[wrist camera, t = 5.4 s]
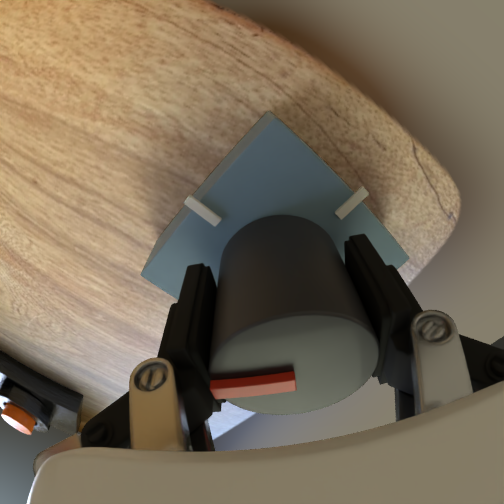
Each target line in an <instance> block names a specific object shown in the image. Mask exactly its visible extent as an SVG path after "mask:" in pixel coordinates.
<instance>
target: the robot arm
mask: <svg viewBox="0 0 504 504" xmlns="http://www.w3.org/2000/svg"><path fill="white" fill-rule="evenodd" d="M344 253H345V266H346V268H347V270H348V272H349V274H350V277H351V279H352V281H353V283H354V285H355V287H356V290H357V292H358V294H359V296H360V298H361V301H362V303H363V305H364V307H365V310H366V312H367V314H368V316H369V319H370V321H371V323H372V326H373V328H374V330H375V333H376V335H377V338H378V341H379V344H380V357H379V361H378V365H377V367H376V369H375V371H374V372H373V374H372V377H378V380H379V383H380V384H384V383H388V385H390V386H392V387H394V388H395V410H396V422H394V423H391V424H387V425H384V426H380V427H377V428H373V429H369V430H365V431H361V432H357V433H353V434H348V435H344V436H339V437H335V438H330V439H325V440H319V441H313V442H308V443H301V444H296V445H288V446H280V447H272V448H262V449H250V450H237V451H215V448H214V444H213V440H212V436H211V432H210V427H209V423H208V420H207V419H208V418H209V417H210V416H211V415H212V413H213V412H219V411H221V403H225V402H226V400H225V399H215V398H214V396H213V394H212V392H211V390H210V378H209V373H208V365H209V355H210V346H211V336H212V327H213V318H214V309H215V300H216V292H217V285H216V282H215V280H214V277H213V274H212V271H211V268H210V266H205V265H204V263H199V264H194V265H189V266H187V269H186V273H185V276H184V280H183V284H182V287H181V291H180V295H179V299H178V303H174V304H172V305H171V307H170V311H169V314H168V318H167V322H166V325H165V329H164V333H163V337H162V341H161V344H160V348H159V352H158V356H157V357H156V358H150V359H147V360H145V361H143V362H141V363H140V364H139V365H137V367H136V368H135V369H134V370H133V372H132V373H131V375H130V380H129V391H128V392H127V393H126V394H124V395H123V396H122V397H120V398H119V399H118V400H116V401H115V402H114V403H112V404H111V405H110V406H108V407H107V408H105V409H104V410H103V411H101V412H100V413H99V414H97V415H96V416H95V417H93V418H92V419H90V420H89V421H88V422H87V423H86V424H85V426H84V428H83V429H82V433H81V435H78V434H77V433H76V434H74V435H72V436H70V437H69V438H67V439H65V440H63V441H61V442H59V443H57V444H55V445H54V446H51V447H49V448H48V449H46V450H44V451H42V452H40V453H39V454H38V455H37V456H36V458H35V459H34V463H33V470H34V475H35V479H34V482H33V485H32V488H31V491H30V494H29V498H28V502H27V504H504V350H503V349H500V348H497V347H495V346H492V345H489V344H486V343H483V342H480V341H477V340H474V339H471V338H468V337H465V336H462V335H460V334H458V331H457V328H456V325H455V323H454V321H453V319H452V318H451V317H449V315H447V314H445V313H444V312H441V311H437V310H426V311H423V310H422V309H421V307H420V305H419V304H418V302H417V301H416V299H415V297H414V296H413V294H412V293H411V291H410V289H409V288H408V286H407V285H406V283H405V282H404V280H403V279H402V277H401V276H400V274H399V273H398V271H397V270H396V268H395V267H394V266H393V265H386V264H385V263H384V261H383V260H382V258H381V257H380V255H379V254H378V252H377V251H376V249H375V248H374V246H373V245H372V243H371V242H370V240H369V239H368V237H367V236H366V235H365V234H364V233H363V234H358V235H352V236H349V240H348V241H345V242H344Z"/></svg>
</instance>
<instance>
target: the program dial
mask: <svg viewBox="0 0 504 504" xmlns="http://www.w3.org/2000/svg"><path fill="white" fill-rule="evenodd" d="M379 357H380V344H379V341H378V338H377V335H376V333H375V330H374V328H373V326H372V323H371V321H370V319H369V316H368V314H367V312H366V310H365V307H364V305H363V303H362V301H361V298H360V296H359V294H358V292H357V290H356V287H355V285H354V283H353V281H352V279H351V277H350V274H349V272H348V270H347V268H346V266H345V264H344V262H343V260H342V258H341V256H340V254H339V252H338V249H337V247H336V245H335V243H334V241H333V240H332V238H331V237H330V235H329V234H328V233H327V232H326V231H325V230H324V229H323V228H322V227H320V226H319V225H317V224H316V223H314V222H312V221H310V220H308V219H305V218H302V217H298V216H292V215H273V216H268V217H263V218H261V219H258V220H255V221H253V222H251V223H249V224H247V225H246V226H244V227H243V228H241V229H240V230H239V231H238V232H236V233H235V234H234V235H233V237H232V238H231V239H230V240H229V241H228V243H227V245H226V246H225V248H224V250H223V253H222V256H221V260H220V267H219V275H218V284H217V292H216V300H215V309H214V318H213V327H212V336H211V346H210V355H209V365H208V373H209V378H210V390H211V392H212V394H213V396H214V398H215V399H225V400H227V401H228V402H230V403H231V404H233V405H235V406H238V407H240V408H243V409H245V410H248V411H252V412H257V413H262V414H272V415H288V414H299V413H305V412H310V411H314V410H318V409H321V408H324V407H327V406H330V405H332V404H335V403H337V402H339V401H341V400H343V399H345V398H346V397H348V396H350V395H351V394H353V393H354V392H355V391H357V390H358V389H359V388H360V387H361V386H363V385H364V384H365V383H366V382H367V380H368V379H369V378H370V377H371V375H372V374H373V372H374V371H375V369H376V367H377V365H378V361H379Z"/></svg>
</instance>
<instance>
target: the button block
mask: <svg viewBox="0 0 504 504" xmlns="http://www.w3.org/2000/svg"><path fill="white" fill-rule="evenodd" d="M82 402H83V395H81V394H79V393H77V392H75V391H73V390H70V389H68V388H66V387H64V386H62V385H60V384H58V383H56V382H54V381H52V380H50V379H48V378H47V377H45V376H43V375H41V374H39V373H37V372H35V371H34V370H32V369H30V368H28V367H27V366H25V365H23V364H22V363H20V362H18V361H17V360H15V359H13V358H12V357H10V356H8V355H7V354H5V353H4V352H2V351H1V350H0V406H1V408H2V409H3V410H4V408H5V405H6V403H10V404H12V405H14V406H16V407H17V408H19V409H21V410H22V411H24V412H25V413H26V414H28V415H29V416H31V417H32V418H33V419H34V420H35V421H36V423H35V425H34V428H33V429H34V430H37V431H40V432H48V430H49V427H50V425H51V426H53V427H55V428H57V429H59V430H62V431H63V432H66V433H68V434H70V435H74V434H76V433H77V432H78V429H79V426H80V423H81V412H82Z"/></svg>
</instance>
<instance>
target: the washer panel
mask: <svg viewBox="0 0 504 504" xmlns="http://www.w3.org/2000/svg"><path fill="white" fill-rule="evenodd" d="M368 195H369V193H368V192H367V190H366V189H365V188H364V187H363V186H362V187H360V188H359V189H358V190H357V191H356V192H355V193H354V192H353V191H352V189H351V188H350V187H349V186H348V185H347V184H346V183H345V182H344V181H343V180H342V179H341V178H340V177H339V176H338V175H337V174H336V173H335V172H334V171H333V170H332V169H331V168H330V167H329V166H328V165H327V164H326V163H325V162H324V161H323V160H322V159H321V158H320V157H319V156H318V155H317V154H316V153H315V152H314V151H313V150H312V149H311V148H310V147H309V146H308V145H307V144H306V143H305V142H304V141H303V140H302V139H301V138H299V137H298V136H297V135H296V134H295V133H294V132H293V131H292V130H291V129H290V128H289V127H288V126H286V125H285V124H284V123H283V122H282V121H281V120H280V119H279V118H278V117H276V116H275V115H274V114H273V113H272V112H271V111H267V112H266V113H265V115H264V116H263V117H262V118H261V119H260V120H259V121H258V122H257V123H256V124H255V125H254V126H253V127H252V128H251V129H250V130H249V132H248V133H247V134H246V135H245V136H244V137H243V138H242V139H241V140H240V141H239V142H238V144H237V145H236V146H235V147H234V148H233V149H232V150H231V151H230V152H229V154H228V155H227V156H226V157H225V158H224V159H223V160H222V162H221V163H220V164H219V165H218V166H217V167H216V168H215V170H214V171H213V172H212V173H211V174H210V175H209V177H208V178H207V179H206V180H205V181H204V182H203V184H202V185H201V186H200V187H199V188H198V190H197V191H196V192H195V193H194V194H193V196H192V195H189V196H188V197H187V199H186V200H185V201H184V204H185V205H184V207H183V208H182V209H181V210H180V212H179V213H178V214H177V215H176V217H175V218H174V219H173V220H172V222H171V223H170V224H169V225H168V227H167V228H166V229H165V230H164V232H163V233H162V234H161V236H160V237H159V238H158V240H157V241H156V243H155V245H154V248H153V250H152V252H151V254H150V256H149V258H148V260H147V262H146V264H145V266H144V268H143V270H142V272H141V276H142V277H144V278H145V279H147V280H148V281H150V282H151V283H153V284H154V285H156V286H157V287H159V288H160V289H162V290H163V291H165V292H166V293H168V294H170V295H171V296H173V297H174V298H176V299H177V300H178V299H179V295H180V291H181V287H182V284H183V280H184V276H185V273H186V269H187V266H189V265H194V264H199V263H204V265H205V266H210V268H211V271H212V274H213V277H214V280H215V282H216V285H217V284H218V275H219V267H220V260H221V256H222V253H223V250H224V248H225V246H226V245H227V243H228V241H229V240H230V239H231V238H232V237H233V235H234V234H235V233H236V232H238V231H239V230H240V229H241V228H243V227H244V226H246V225H247V224H249V223H251V222H253V221H255V220H258V219H261V218H263V217H268V216H273V215H292V216H298V217H302V218H305V219H308V220H310V221H312V222H314V223H316V224H317V225H319V226H320V227H322V228H323V229H324V230H325V231H326V232H327V233H328V234H329V235H330V237H331V238H332V240H333V241H334V243H335V245H336V247H337V249H338V252H339V254H340V256H341V258H342V260H343V262H344V264H345V253H344V242H345V241H348V240H349V236H352V235H358V234H363V233H364V234H365V235H366V236H367V237H368V239H369V240H370V242H371V243H372V245H373V246H374V248H375V249H376V251H377V252H378V254H379V255H380V257H381V258H382V260H383V261H384V263H385V264H386V265H393V266H394V267H395V268H396V270H397V269H398V268H399V267H400V266H402V265H403V264H404V263H405V262H406V261H407V260H408V259H409V256H408V255H407V254H406V252H405V251H404V250H403V249H402V247H401V246H400V245H399V244H398V242H397V241H396V240H395V239H394V237H393V236H392V235H391V234H390V232H389V231H388V230H387V229H386V228H385V226H384V225H383V224H382V223H381V222H380V221H379V219H378V218H377V217H376V216H375V215H374V214H373V213H372V211H371V210H370V209H369V208H368V207H367V206H366V205H365V204H364V203H363V201H362V200H363V199H364V198H365V197H367V196H368Z"/></svg>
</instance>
